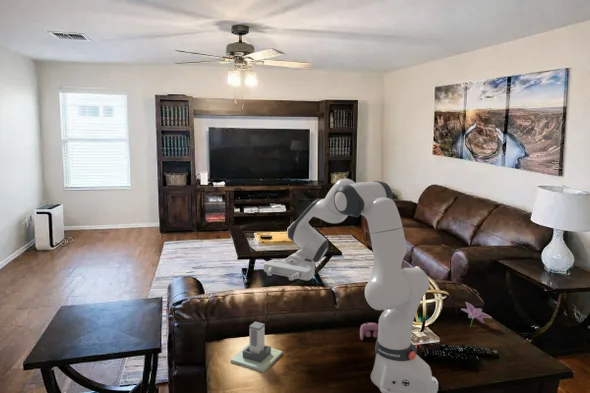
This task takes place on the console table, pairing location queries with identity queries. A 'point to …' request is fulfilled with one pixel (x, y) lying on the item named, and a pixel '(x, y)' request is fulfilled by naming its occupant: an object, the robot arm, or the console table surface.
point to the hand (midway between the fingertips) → (279, 276)
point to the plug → (257, 337)
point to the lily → (475, 313)
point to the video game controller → (365, 330)
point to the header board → (257, 358)
